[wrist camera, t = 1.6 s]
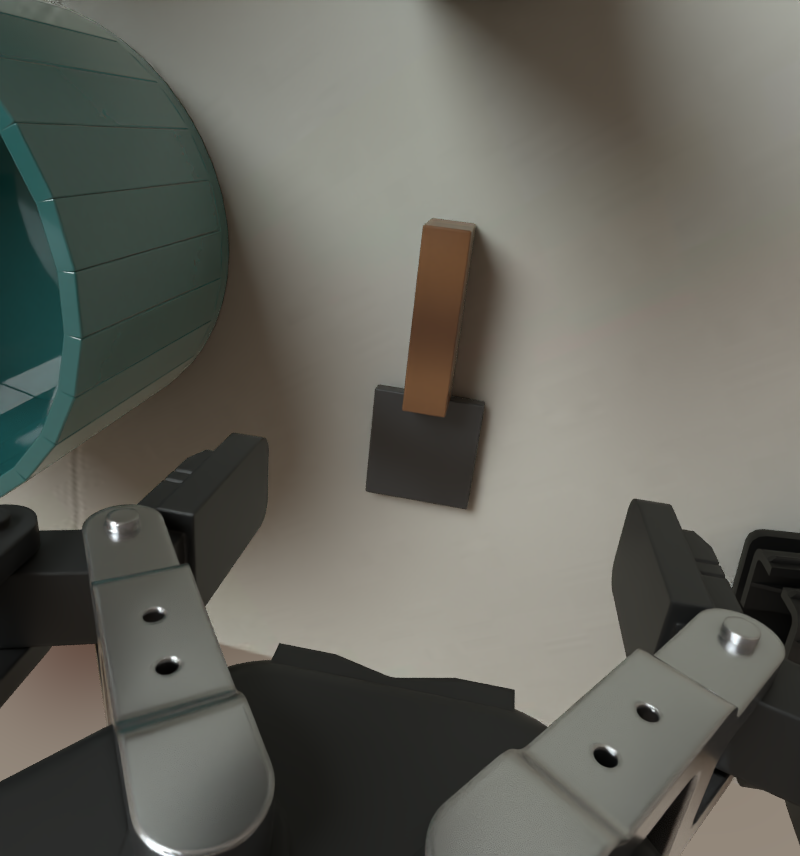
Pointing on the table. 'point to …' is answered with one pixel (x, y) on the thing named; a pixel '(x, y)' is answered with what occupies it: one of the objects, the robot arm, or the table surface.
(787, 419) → the table surface
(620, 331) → the table surface
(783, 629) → the end cap
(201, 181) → the bowl
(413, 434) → the spatula
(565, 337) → the table surface
